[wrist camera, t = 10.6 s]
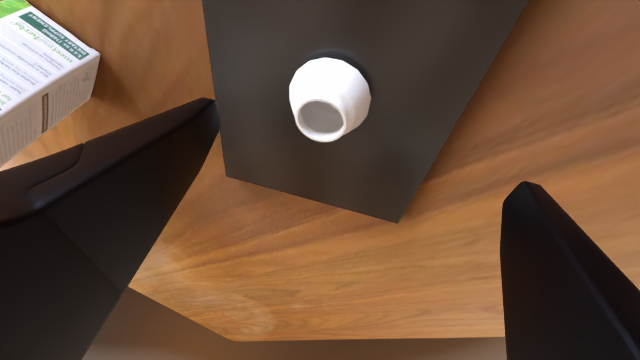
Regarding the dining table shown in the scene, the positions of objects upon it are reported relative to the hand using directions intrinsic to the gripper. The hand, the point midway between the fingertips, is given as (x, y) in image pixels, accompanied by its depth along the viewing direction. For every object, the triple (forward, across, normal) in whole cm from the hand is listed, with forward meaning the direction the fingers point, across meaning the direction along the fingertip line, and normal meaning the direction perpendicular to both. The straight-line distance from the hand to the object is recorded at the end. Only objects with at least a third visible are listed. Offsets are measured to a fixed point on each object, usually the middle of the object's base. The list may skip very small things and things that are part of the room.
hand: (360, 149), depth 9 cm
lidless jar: (+10, +2, +5) cm, 12 cm away
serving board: (+11, +2, +5) cm, 12 cm away
